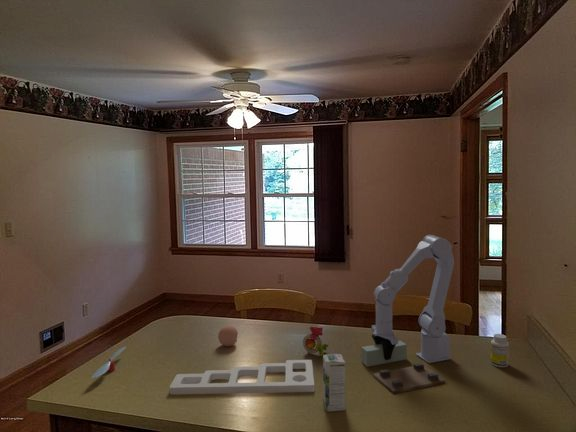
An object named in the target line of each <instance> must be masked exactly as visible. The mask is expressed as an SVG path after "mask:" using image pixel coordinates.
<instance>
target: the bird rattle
mask: <svg viewBox="0 0 576 432" xmlns="http://www.w3.org/2000/svg"><path fill="white" fill-rule="evenodd" d="M309 330H310V333H308V334H306V335H305V336H304V337H303V339H302V346H303V348H304V350H305V351H306V352H307V354H308V355H309V354H316V353H319V357H323V355H324V351H327V348H328V347H329V344H327V343H324V344H322V339H321V338H320V337H321V336H323V335H324V334H323V330H324V329H323V327H316V326H309Z"/></svg>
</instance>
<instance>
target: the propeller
mask: <svg viewBox="0 0 576 432" xmlns="http://www.w3.org/2000/svg"><path fill="white" fill-rule="evenodd" d="M126 347H127V346H123V347H121V348H120V349H118V350H117V351H115V352H114V353H113V354H112V355H111V357H110V358H109V359H108V360H107V362H106V363H104V364H103V365H102V366H100V367H99V368H98V369H97V370H96V371H95V372H94V373H93V374H92V376H91V377H90V378H91V379H96V378H98V377H100V376H102V375H104V374H106V373H109V372H113V371H115V369H116V366H115V361H113V360H114V359H115V358H116V357H117V356H119V355H120V354H121V353H122V352H123V351H124V350H125V349H126Z"/></svg>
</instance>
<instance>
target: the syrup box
mask: <svg viewBox="0 0 576 432" xmlns="http://www.w3.org/2000/svg"><path fill="white" fill-rule="evenodd" d="M322 362H323V363H322V402H323V406H324V410H325V412H328V413H329V412H341V411H346V361H345V359H344V357H343V355H342V354H339V353H329V354H323V355H322Z"/></svg>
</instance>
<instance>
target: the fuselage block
mask: <svg viewBox="0 0 576 432" xmlns="http://www.w3.org/2000/svg"><path fill="white" fill-rule="evenodd" d="M360 348H361V351H360V352H361V363H362V364H363V365H364V366H365V367H368V368H369V367H371V366H378V365H382V364H389V363H394V362H400V361H405V360H407V358H408V351H407V350H408V345H407V344H406V343H405V342H404V341H402V340H398V344H396V346H395V347H394V349H393V352H392V356H391V359H389V360H385V359H384V352H383V347H382V344H377V345H375V344H373V345H372V344H371V345H366V346H361V347H360Z"/></svg>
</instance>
